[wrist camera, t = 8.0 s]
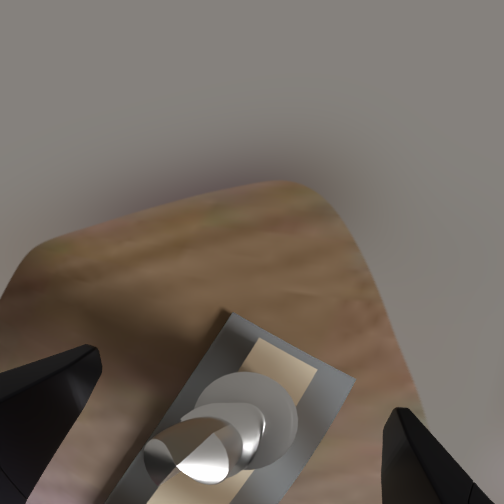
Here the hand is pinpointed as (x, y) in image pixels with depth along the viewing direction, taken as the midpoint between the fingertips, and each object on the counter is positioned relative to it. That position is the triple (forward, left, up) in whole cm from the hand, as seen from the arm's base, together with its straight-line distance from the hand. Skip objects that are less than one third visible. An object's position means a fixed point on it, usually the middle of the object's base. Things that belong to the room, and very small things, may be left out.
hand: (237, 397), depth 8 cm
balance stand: (-6, 0, -12) cm, 14 cm away
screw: (-1, 0, -8) cm, 8 cm away
